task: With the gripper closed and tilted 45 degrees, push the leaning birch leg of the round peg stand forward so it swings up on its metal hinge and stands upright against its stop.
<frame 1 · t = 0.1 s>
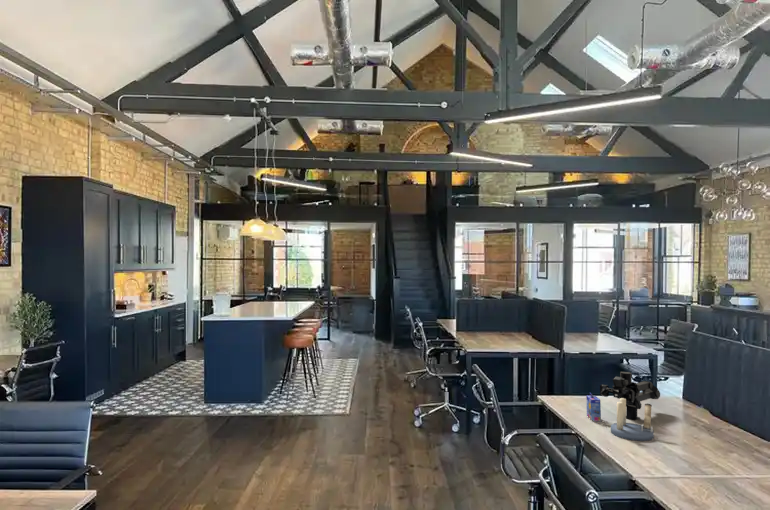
hand: (608, 395, 280), 17 cm above the table, tool horizontal, fingers open, 9 cm apart
ink cartridge box: (593, 419, 292), on the table
round peg stand: (631, 434, 265), on the table
hinged leg: (647, 416, 264), point 10 cm above the table, hinge at -30.0°
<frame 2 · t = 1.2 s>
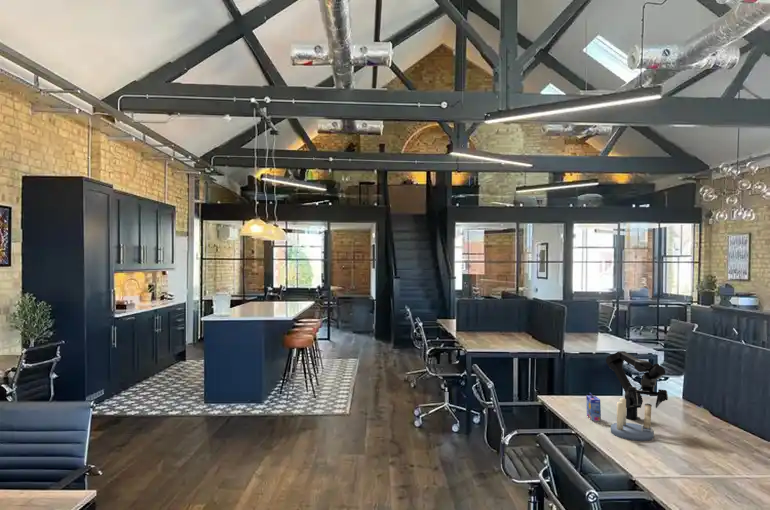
hand: (646, 406, 271), 13 cm above the table, tool tilted 45°, fingers open, 9 cm apart
nothing on the table moved.
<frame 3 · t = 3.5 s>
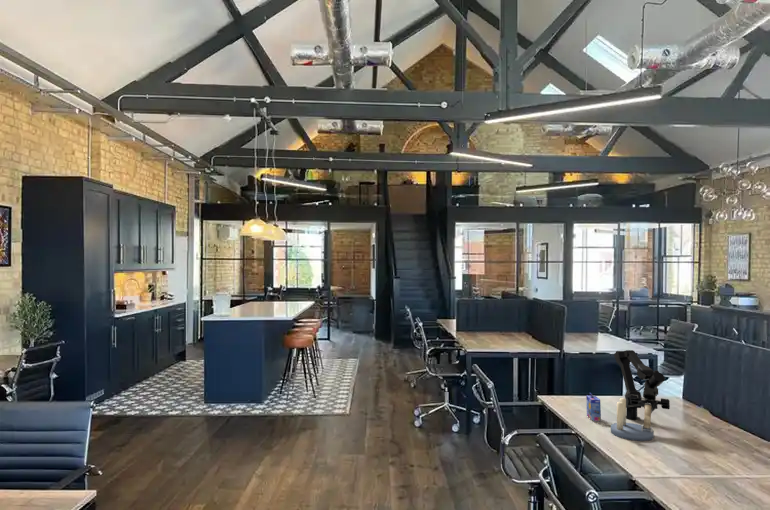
hand: (648, 415, 266), 10 cm above the table, tool tilted 45°, fingers closed, pressing on hinged leg
hinged leg: (647, 416, 264), point 10 cm above the table, hinge at -26.7°, touching gripper
everything else where it was.
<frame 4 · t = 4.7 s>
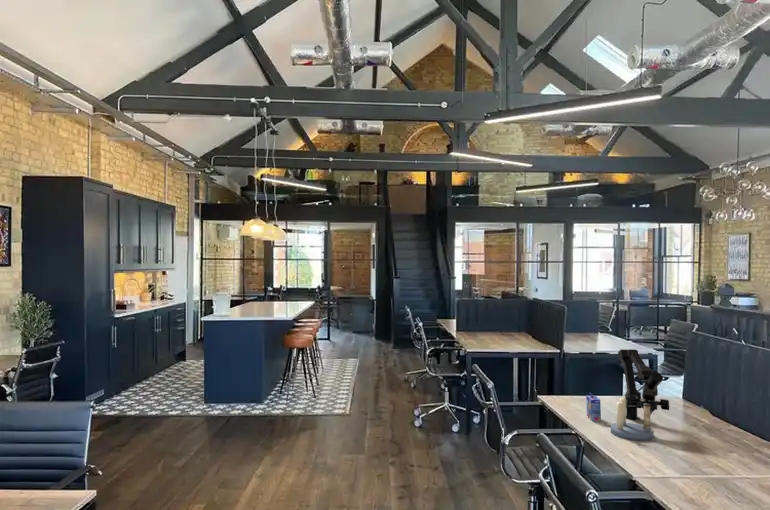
hand: (647, 416, 263), 10 cm above the table, tool tilted 45°, fingers closed, pressing on hinged leg
hinged leg: (646, 416, 261), point 10 cm above the table, hinge at 1.8°, touching gripper
everything else where it was.
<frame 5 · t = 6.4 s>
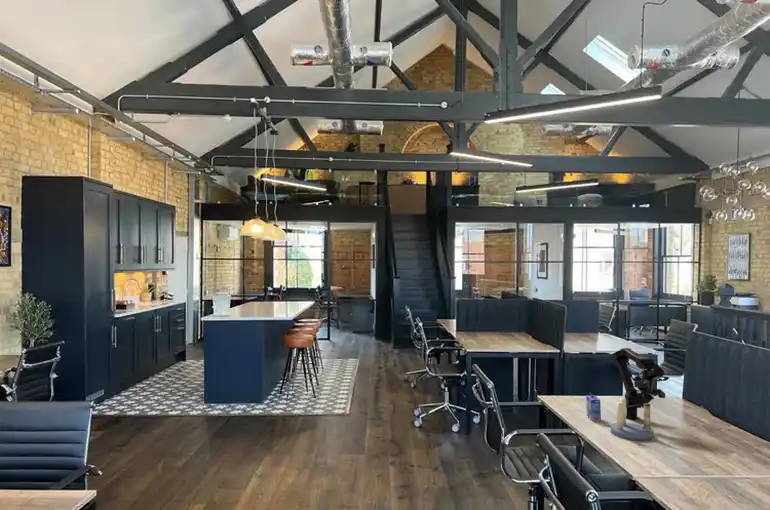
hand: (643, 407, 272), 12 cm above the table, tool tilted 35°, fingers closed
hinged leg: (646, 416, 261), point 10 cm above the table, hinge at 1.6°
everything else where it was.
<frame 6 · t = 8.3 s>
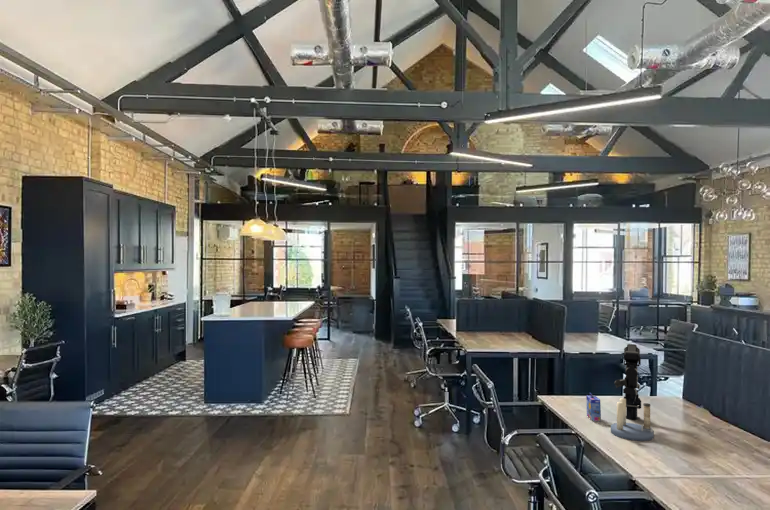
hand: (631, 404, 279), 12 cm above the table, tool pointing down, fingers closed
nothing on the table moved.
at the end: hinged leg at +2° (first picture: -30°); hinged leg tilted 2° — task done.
